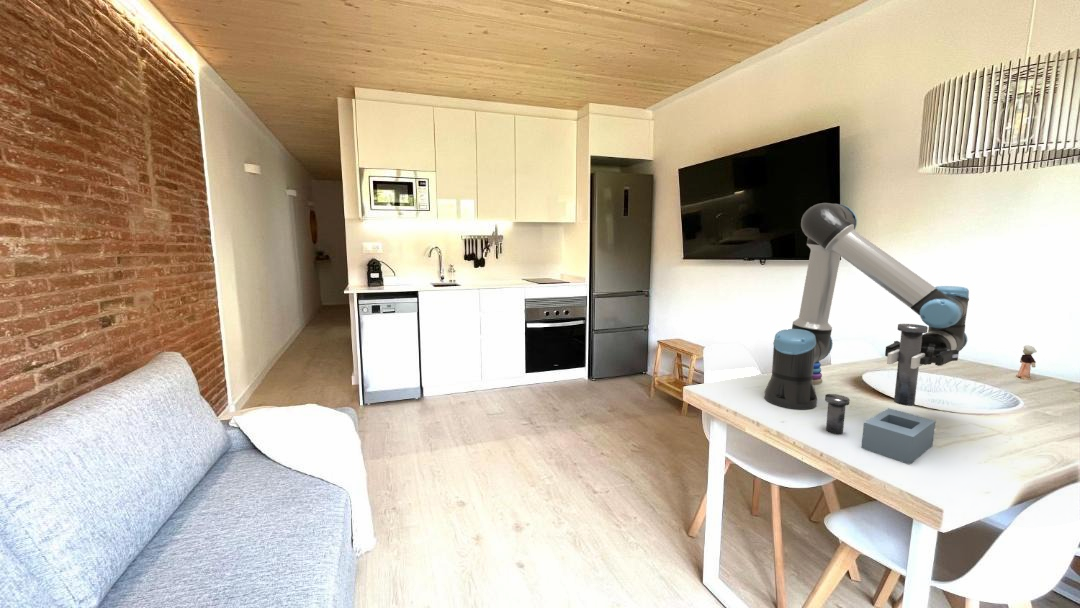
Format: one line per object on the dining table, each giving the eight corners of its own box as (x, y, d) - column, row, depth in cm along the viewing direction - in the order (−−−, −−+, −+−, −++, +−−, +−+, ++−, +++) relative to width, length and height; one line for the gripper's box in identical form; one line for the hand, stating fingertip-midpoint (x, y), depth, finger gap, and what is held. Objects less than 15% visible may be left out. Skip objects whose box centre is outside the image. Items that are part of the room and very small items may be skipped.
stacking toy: (812, 377, 166) (816, 330, 163) (826, 384, 158) (831, 335, 155) (792, 378, 166) (796, 330, 163) (805, 385, 158) (810, 335, 155)
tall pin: (885, 398, 113) (892, 323, 110) (909, 399, 112) (918, 323, 109) (898, 406, 107) (906, 328, 104) (924, 407, 106) (933, 328, 103)
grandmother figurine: (1009, 374, 166) (1014, 342, 164) (1021, 375, 165) (1026, 343, 163) (1027, 381, 158) (1032, 348, 156) (1039, 382, 157) (1045, 348, 155)
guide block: (885, 431, 120) (888, 408, 119) (932, 445, 112) (935, 420, 111) (861, 447, 111) (863, 422, 110) (909, 464, 103) (913, 437, 102)
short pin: (819, 426, 124) (821, 393, 123) (840, 427, 123) (843, 394, 121) (827, 435, 119) (830, 400, 117) (850, 436, 118) (853, 401, 116)
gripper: (974, 366, 111) (945, 385, 98) (893, 353, 125) (858, 367, 112) (978, 338, 110) (949, 353, 97) (896, 327, 124) (861, 339, 111)
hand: (901, 360), depth 105 cm, fingers closed on tall pin, 4 cm apart
